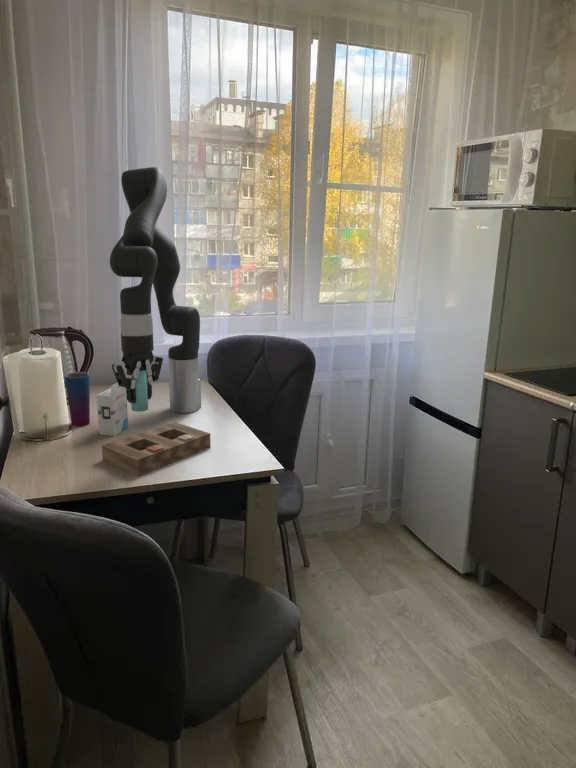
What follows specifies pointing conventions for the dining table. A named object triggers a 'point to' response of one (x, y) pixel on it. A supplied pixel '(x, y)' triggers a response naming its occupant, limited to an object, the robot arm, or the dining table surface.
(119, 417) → the ink box
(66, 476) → the dining table surface
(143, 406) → the plug
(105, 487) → the dining table surface
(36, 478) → the dining table surface
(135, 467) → the board
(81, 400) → the cup
